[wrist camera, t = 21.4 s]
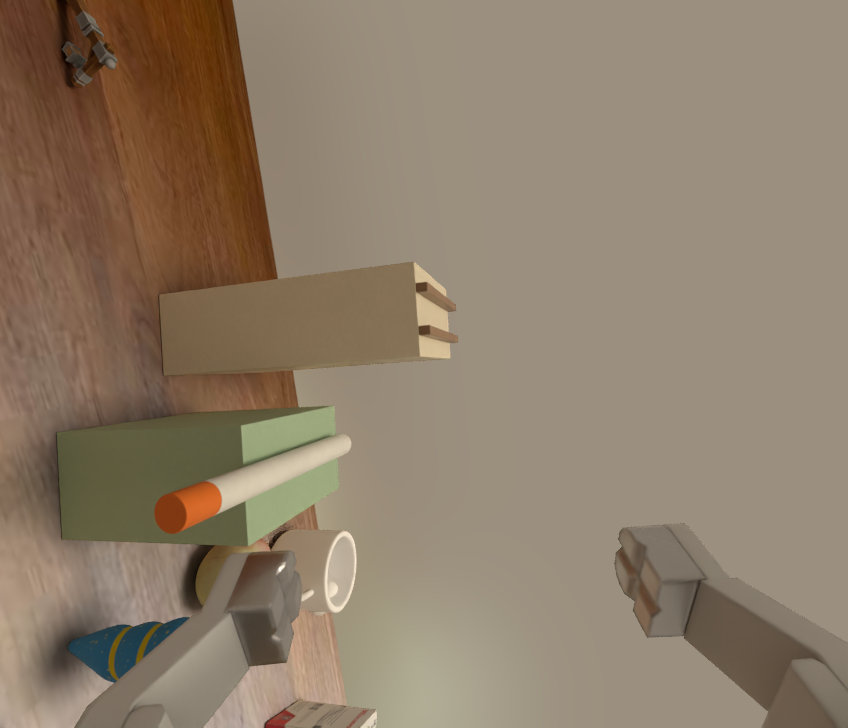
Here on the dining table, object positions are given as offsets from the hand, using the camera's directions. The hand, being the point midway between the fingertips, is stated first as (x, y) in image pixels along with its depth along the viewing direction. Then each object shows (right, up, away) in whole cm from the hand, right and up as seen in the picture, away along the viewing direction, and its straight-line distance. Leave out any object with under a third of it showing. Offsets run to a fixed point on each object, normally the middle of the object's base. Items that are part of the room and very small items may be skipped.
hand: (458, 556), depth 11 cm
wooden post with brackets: (-30, +32, +25) cm, 50 cm away
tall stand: (-25, +8, +38) cm, 46 cm away
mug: (-21, -23, +47) cm, 56 cm away
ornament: (-27, -16, +22) cm, 39 cm away
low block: (-27, -4, +28) cm, 39 cm away
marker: (-12, -3, +21) cm, 24 cm away
